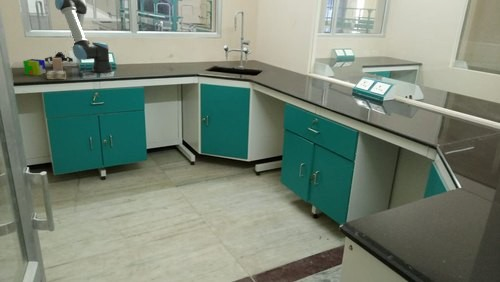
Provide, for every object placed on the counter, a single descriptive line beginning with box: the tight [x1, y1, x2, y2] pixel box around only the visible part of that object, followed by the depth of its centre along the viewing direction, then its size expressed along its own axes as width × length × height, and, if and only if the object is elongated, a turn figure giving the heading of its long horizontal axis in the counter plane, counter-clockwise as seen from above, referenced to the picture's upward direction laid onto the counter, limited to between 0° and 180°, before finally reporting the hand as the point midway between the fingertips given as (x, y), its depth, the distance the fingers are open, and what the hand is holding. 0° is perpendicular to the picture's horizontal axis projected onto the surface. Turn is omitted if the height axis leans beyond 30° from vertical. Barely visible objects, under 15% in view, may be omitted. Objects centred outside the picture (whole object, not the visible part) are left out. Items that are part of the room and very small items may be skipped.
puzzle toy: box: [23, 58, 47, 76], centre depth 287 cm, size 10×10×10 cm
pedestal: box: [45, 70, 67, 80], centre depth 278 cm, size 12×12×5 cm
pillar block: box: [51, 57, 64, 71], centre depth 290 cm, size 6×6×12 cm
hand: (58, 61), depth 298 cm, fingers open, 13 cm apart
